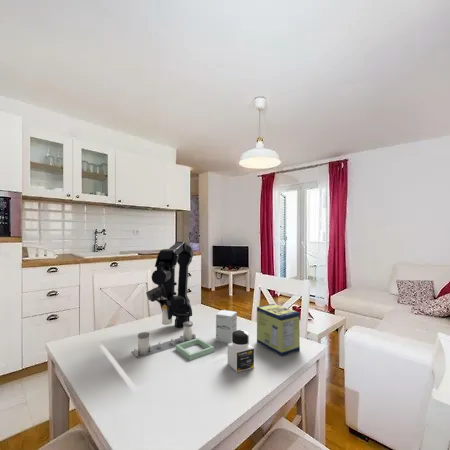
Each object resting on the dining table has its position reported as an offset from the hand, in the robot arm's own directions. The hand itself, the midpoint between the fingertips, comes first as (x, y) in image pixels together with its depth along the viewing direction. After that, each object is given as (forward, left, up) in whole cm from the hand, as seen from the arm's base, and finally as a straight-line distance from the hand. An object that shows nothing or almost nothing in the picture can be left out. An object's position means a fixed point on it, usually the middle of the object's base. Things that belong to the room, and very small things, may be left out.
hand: (167, 318), depth 107 cm
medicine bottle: (-15, +29, -13) cm, 35 cm away
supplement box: (-24, +10, -13) cm, 28 cm away
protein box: (-38, +27, -13) cm, 48 cm away
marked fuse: (0, 0, -2) cm, 2 cm away
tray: (-7, +11, -12) cm, 18 cm away
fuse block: (0, 0, -12) cm, 12 cm away
